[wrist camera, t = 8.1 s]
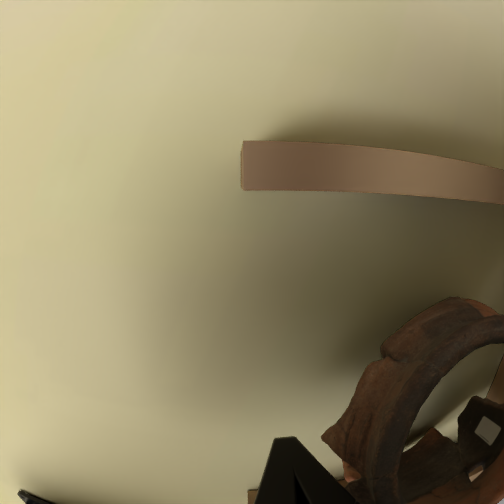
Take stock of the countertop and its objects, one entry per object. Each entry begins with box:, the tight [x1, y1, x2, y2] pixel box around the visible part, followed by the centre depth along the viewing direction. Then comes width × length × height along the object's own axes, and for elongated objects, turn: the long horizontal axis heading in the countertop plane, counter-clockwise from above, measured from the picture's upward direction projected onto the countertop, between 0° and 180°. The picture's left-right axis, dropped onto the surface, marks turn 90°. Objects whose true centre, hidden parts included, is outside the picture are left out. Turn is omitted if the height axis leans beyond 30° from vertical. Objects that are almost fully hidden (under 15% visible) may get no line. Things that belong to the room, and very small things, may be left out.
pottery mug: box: [321, 297, 504, 504], centre depth 9 cm, size 12×10×8 cm
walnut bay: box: [241, 141, 504, 504], centre depth 10 cm, size 15×17×3 cm
